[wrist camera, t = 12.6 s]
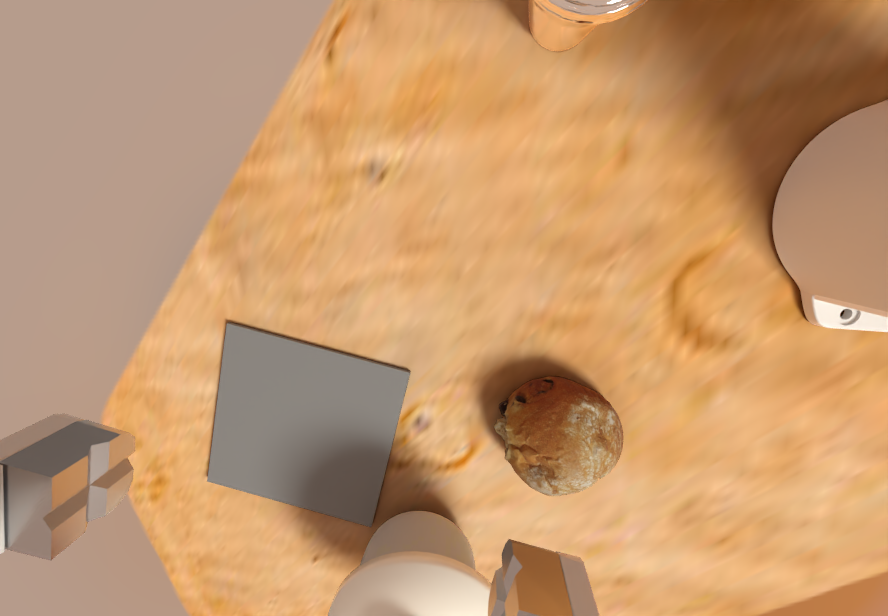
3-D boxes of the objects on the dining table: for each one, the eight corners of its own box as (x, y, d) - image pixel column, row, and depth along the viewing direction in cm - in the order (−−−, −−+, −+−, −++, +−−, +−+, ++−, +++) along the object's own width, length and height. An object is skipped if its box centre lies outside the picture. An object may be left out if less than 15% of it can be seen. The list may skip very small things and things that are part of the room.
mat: (410, 371, 37) (409, 372, 37) (372, 524, 41) (371, 527, 41) (229, 322, 37) (226, 323, 37) (209, 478, 42) (207, 481, 41)
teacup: (354, 508, 41) (325, 578, 33) (457, 479, 39) (451, 546, 32) (407, 616, 44) (391, 704, 36) (504, 594, 42) (510, 681, 34)
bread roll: (539, 458, 42) (582, 530, 35) (465, 428, 37) (498, 505, 31) (606, 388, 40) (665, 451, 33) (536, 346, 35) (590, 410, 28)
